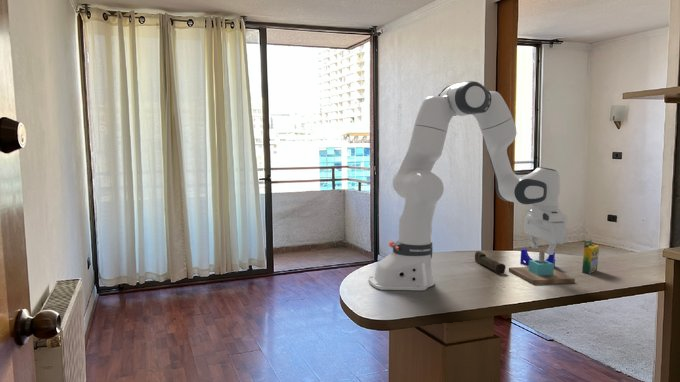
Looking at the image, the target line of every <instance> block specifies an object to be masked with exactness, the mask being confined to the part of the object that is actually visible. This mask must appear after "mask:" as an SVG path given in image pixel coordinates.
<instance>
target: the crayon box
mask: <svg viewBox="0 0 680 382" xmlns="http://www.w3.org/2000/svg"><path fill="white" fill-rule="evenodd" d="M599 252H600V245H597V244H596V245H595V244H593V240H592V239H591V240H587V241H584V246H583V255H582V256H583V257H582V267H581V268H582V269H581V273H583V274H589V275H590V274H592V273H595V272H596V271H597V270H598V264H599V263H598V262H599Z"/></svg>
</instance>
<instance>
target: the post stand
mask: <svg viewBox="0 0 680 382" xmlns="http://www.w3.org/2000/svg"><path fill="white" fill-rule="evenodd" d="M538 254H539V255H538V260H539V264H543V263H544V260H545V252H544V251H543V250H541V251H539V253H538ZM508 272H509V273H511V274H513V275H514V276H516V277H518V278H520V279H521V280H523V281H525V282H528V284H531V285H533V286H534V285H553V284H575V282H576V279H575V277H572V276H570V275H568V274H566V273H564V272H562V271H559V270H557V269H555V268H554V270H553V275H539V276H538V275H536V274H534V273H532V272H530V271H529V266H520V267H508Z"/></svg>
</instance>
